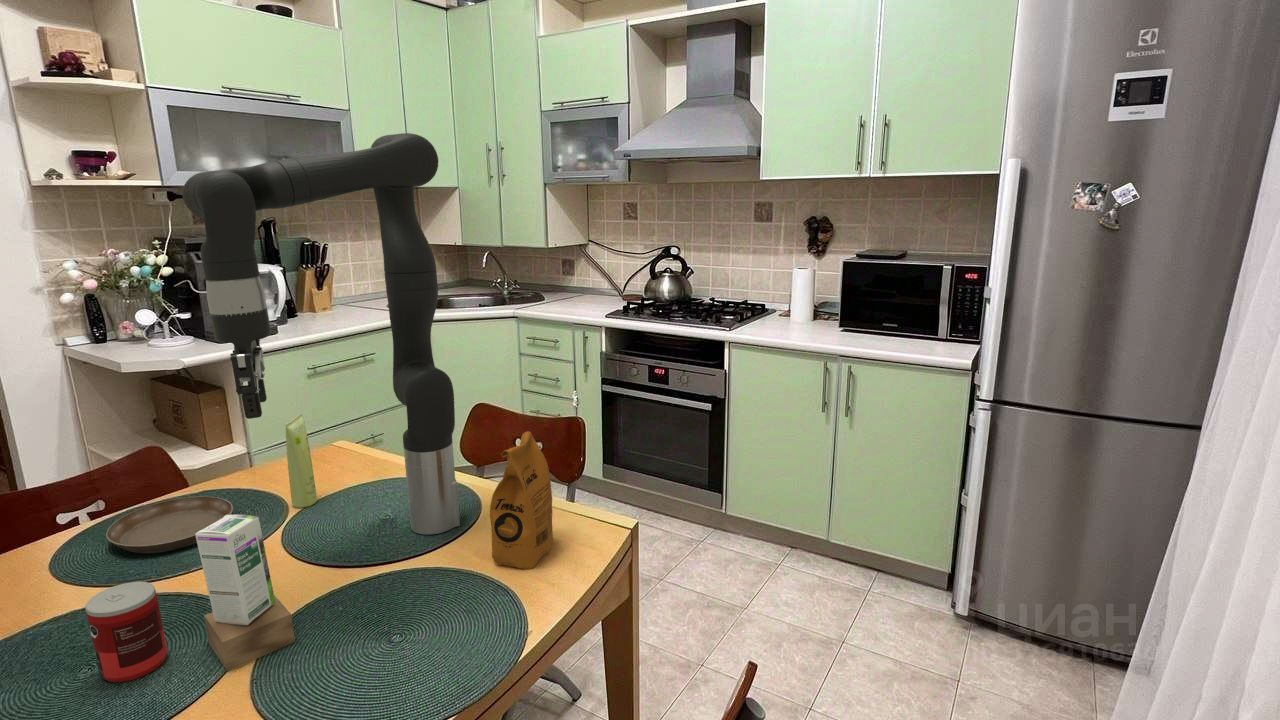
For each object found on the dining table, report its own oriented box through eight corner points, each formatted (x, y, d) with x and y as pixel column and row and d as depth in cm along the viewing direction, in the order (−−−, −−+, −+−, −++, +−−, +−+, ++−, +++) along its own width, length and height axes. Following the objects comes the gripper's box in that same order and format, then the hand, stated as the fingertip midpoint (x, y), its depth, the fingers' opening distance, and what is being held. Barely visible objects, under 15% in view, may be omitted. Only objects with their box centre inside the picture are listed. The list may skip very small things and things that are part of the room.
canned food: (123, 649, 98) (108, 582, 96) (180, 646, 99) (167, 579, 97) (85, 685, 91) (69, 614, 88) (147, 682, 92) (133, 611, 89)
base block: (274, 618, 106) (269, 590, 105) (295, 643, 100) (291, 613, 99) (209, 644, 100) (203, 615, 99) (227, 673, 94) (222, 642, 93)
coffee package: (483, 565, 120) (475, 451, 115) (514, 533, 132) (508, 427, 127) (534, 574, 118) (528, 456, 113) (561, 540, 129) (557, 432, 124)
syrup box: (247, 626, 96) (230, 534, 92) (212, 622, 97) (193, 531, 94) (276, 603, 101) (260, 515, 98) (242, 600, 102) (225, 512, 99)
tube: (322, 504, 145) (311, 418, 140) (297, 511, 142) (285, 424, 137) (312, 496, 149) (302, 412, 144) (288, 503, 146) (276, 417, 141)
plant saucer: (257, 522, 137) (254, 508, 137) (146, 571, 120) (143, 554, 119) (197, 502, 147) (195, 488, 146) (86, 544, 129) (83, 529, 128)
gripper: (262, 312, 97) (280, 419, 101) (270, 299, 109) (286, 393, 113) (201, 318, 94) (223, 427, 98) (216, 303, 106) (235, 400, 110)
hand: (256, 409), depth 106 cm, fingers open, 8 cm apart
